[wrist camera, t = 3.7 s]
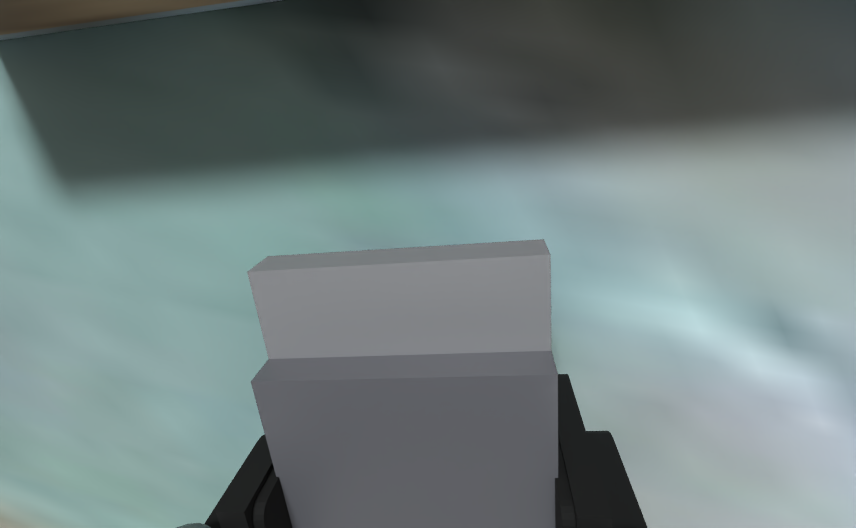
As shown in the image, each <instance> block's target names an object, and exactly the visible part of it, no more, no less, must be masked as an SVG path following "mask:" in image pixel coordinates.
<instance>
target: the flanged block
mask: <svg viewBox="0 0 856 528" xmlns="http://www.w3.org/2000/svg"><path fill="white" fill-rule="evenodd" d="M248 277H249V281H250V285H251V289H252V293H253V297H254V301H255V305H256V309H257V313H258V317H259V321H260V325H261V329H262V333H263V337H264V341H265V345H266V350H267V354H268V358H269V360H268V361H267V362H266V363H265V364H264V366H263V367H262V368H261V369H260V371H259V372H258V373H257V374H256V376H255V377H254V378H253V379H252V381H251V384H252V388H253V392H254V395H255V399H256V403H257V407H258V410H259V414H260V418H261V421H262V425H263V429H264V433H265V436H266V440H267V444H268V448H269V451H270V455H271V459H272V463H273V466H274V470H275V474H276V477H279V479H280V482H281V486H282V490H283V494H284V497H285V501H286V505H287V508H288V512H289V516H290V520H291V523H292V527H293V528H555V478H558V373H557V370H556V366H555V362H554V359H553V355H552V352H551V264H550V253H549V250H548V248H547V246H546V243H545V241H544V239H542V240H526V241H509V242H493V243H477V244H460V245H444V246H428V247H411V248H395V249H379V250H362V251H346V252H330V253H313V254H297V255H281V256H268V257H266V258H265V259H264V260H262V261H261V262H260V263H258V264H257V265H256V266H254V267H253V268H252V269H250V270H249V271H248Z"/></svg>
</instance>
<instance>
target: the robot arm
mask: <svg viewBox="0 0 856 528" xmlns="http://www.w3.org/2000/svg"><path fill="white" fill-rule="evenodd" d="M177 528H293V527H292V523H291V520H290V516H289V512H288V508H287V505H286V501H285V497H284V494H283V490H282V486H281V482H280V479H279V477H276V474H275V470H274V466H273V463H272V459H271V455H270V451H269V448H268V444H267V440H266V436H265V435H263V436H261V438H260V439H259V440H258V441H257V443H256V444H255V446H254V448H253V449H252V451H251V452H250V454H249V455H248V457H247V458H246V460H245V462H244V463H243V465H242V466H241V468H240V469H239V471H238V472H237V474H236V476H235V477H234V479H233V480H232V482H231V483H230V485H229V486H228V488H227V490H226V491H225V493H224V494H223V496H222V497H221V499H220V501H219V502H218V504H217V505H216V507H215V508H214V510H213V511H212V513H211V515H210V516H209V518H208V519H207V521H206V522H205V524H201V523H193V524H186V525H183V526H180V527H177ZM555 528H647V525H646V523H645V520H644V518H643V515H642V512H641V510H640V507H639V505H638V502H637V499H636V497H635V494H634V491H633V489H632V486H631V484H630V481H629V478H628V476H627V473H626V471H625V468H624V465H623V463H622V460H621V458H620V455H619V452H618V450H617V447H616V445H615V442H614V439H613V437H612V435H611V433H610V432H609V431H585V427H584V424H583V421H582V418H581V415H580V411H579V408H578V405H577V402H576V398H575V395H574V392H573V389H572V386H571V382H570V379H569V376H568V374H558V478H555Z"/></svg>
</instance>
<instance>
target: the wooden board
mask: <svg viewBox="0 0 856 528" xmlns="http://www.w3.org/2000/svg"><path fill="white" fill-rule="evenodd" d="M275 1H282V0H0V40H7V39H14V38H21V37H28V36H35V35H42V34H49V33H56V32H63V31H70V30H77V29H84V28H91V27H98V26H105V25H112V24H120V23H127V22H134V21H141V20H148V19H155V18H162V17H169V16H176V15H183V14H190V13H197V12H204V11H211V10H218V9H225V8H233V7H240V6H247V5H254V4H261V3H268V2H275Z"/></svg>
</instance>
